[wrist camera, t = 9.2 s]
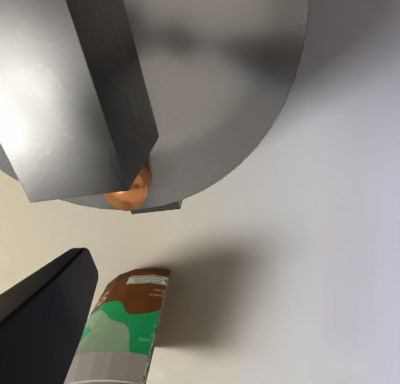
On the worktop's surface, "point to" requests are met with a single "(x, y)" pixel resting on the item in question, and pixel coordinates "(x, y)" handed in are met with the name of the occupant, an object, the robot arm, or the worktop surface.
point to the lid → (140, 94)
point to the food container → (121, 330)
